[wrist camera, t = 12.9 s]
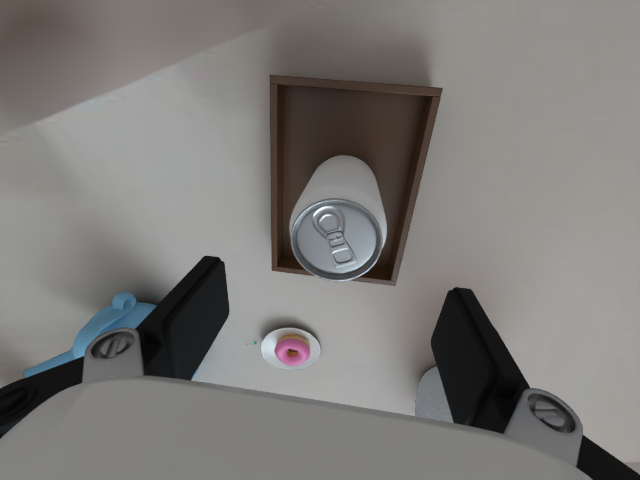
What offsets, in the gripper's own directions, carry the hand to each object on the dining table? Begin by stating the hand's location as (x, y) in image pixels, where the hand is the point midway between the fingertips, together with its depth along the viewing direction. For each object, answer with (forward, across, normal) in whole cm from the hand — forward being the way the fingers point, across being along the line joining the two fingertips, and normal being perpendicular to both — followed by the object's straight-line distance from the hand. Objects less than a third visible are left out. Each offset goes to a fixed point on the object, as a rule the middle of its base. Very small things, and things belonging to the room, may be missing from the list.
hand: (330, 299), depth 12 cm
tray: (+18, 0, +1) cm, 19 cm away
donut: (+18, +6, +25) cm, 31 cm away
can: (+18, 0, 0) cm, 18 cm away
